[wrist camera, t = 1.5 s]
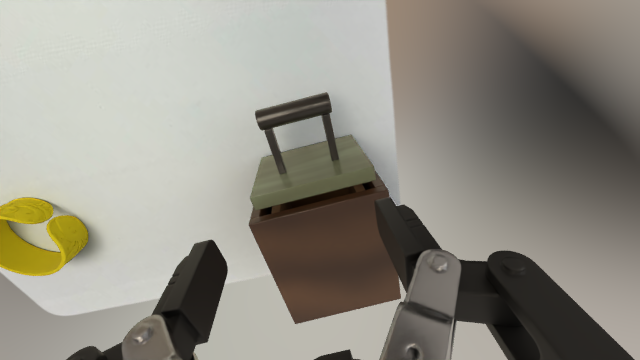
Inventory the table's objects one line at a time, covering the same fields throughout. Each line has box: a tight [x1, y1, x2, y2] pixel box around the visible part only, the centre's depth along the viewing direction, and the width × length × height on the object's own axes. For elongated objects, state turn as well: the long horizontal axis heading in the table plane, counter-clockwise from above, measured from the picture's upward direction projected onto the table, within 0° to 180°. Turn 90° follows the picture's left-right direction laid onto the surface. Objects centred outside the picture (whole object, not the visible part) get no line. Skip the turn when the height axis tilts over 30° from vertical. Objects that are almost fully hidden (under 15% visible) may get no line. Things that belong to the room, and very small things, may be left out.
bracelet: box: [0, 198, 88, 276], centre depth 26 cm, size 7×8×3 cm
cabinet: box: [249, 171, 401, 324], centre depth 25 cm, size 13×11×10 cm
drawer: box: [250, 92, 376, 214], centre depth 23 cm, size 17×9×8 cm, turn 13°
